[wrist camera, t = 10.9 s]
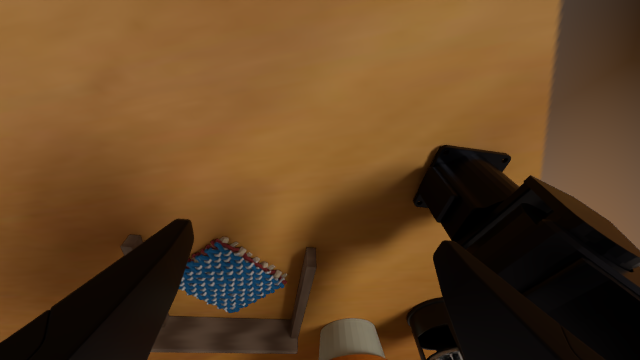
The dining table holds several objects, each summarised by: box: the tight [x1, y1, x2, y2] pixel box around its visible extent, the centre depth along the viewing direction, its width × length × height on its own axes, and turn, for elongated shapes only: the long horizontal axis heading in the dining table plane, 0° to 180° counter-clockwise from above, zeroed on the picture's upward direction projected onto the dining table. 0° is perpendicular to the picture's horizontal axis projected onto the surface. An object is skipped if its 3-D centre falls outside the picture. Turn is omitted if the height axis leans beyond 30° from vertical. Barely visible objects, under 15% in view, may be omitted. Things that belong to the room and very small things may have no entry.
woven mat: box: [179, 237, 288, 313], centre depth 29 cm, size 10×11×2 cm
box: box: [120, 235, 316, 354], centre depth 29 cm, size 19×18×4 cm
